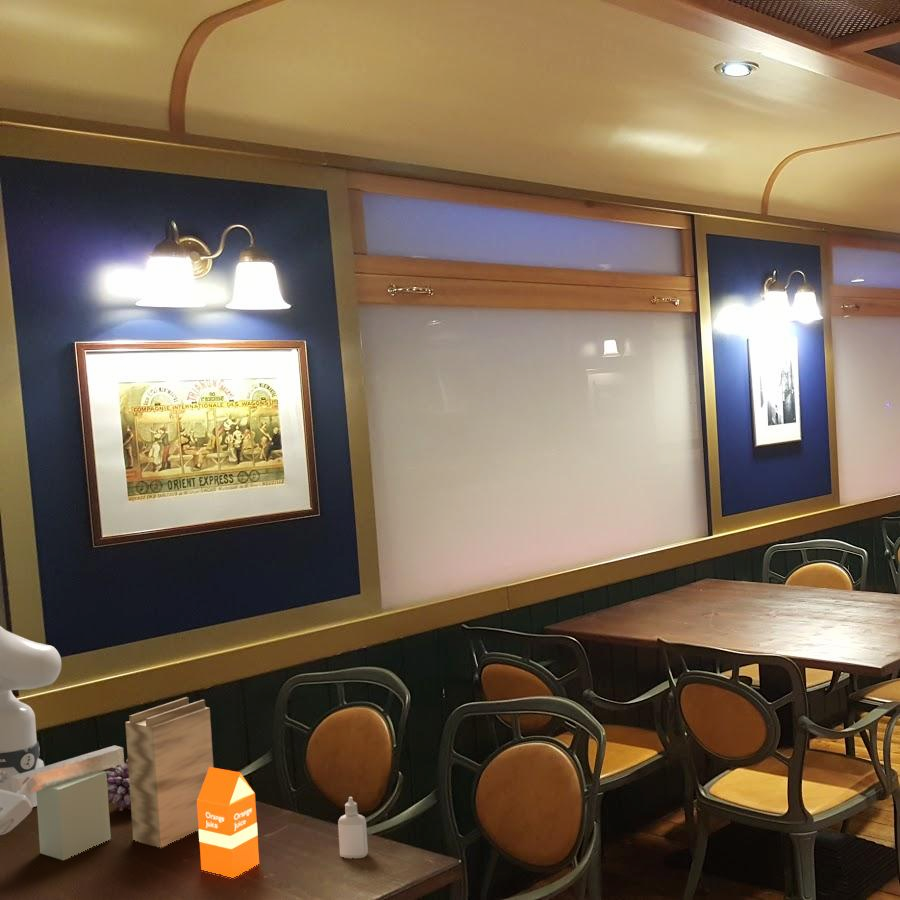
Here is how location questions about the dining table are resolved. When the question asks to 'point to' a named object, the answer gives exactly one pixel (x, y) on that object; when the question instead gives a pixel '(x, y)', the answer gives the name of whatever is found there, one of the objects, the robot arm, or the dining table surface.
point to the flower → (119, 786)
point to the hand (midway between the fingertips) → (18, 776)
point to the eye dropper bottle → (352, 832)
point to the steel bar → (70, 768)
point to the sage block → (73, 816)
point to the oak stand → (167, 769)
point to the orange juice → (227, 824)
